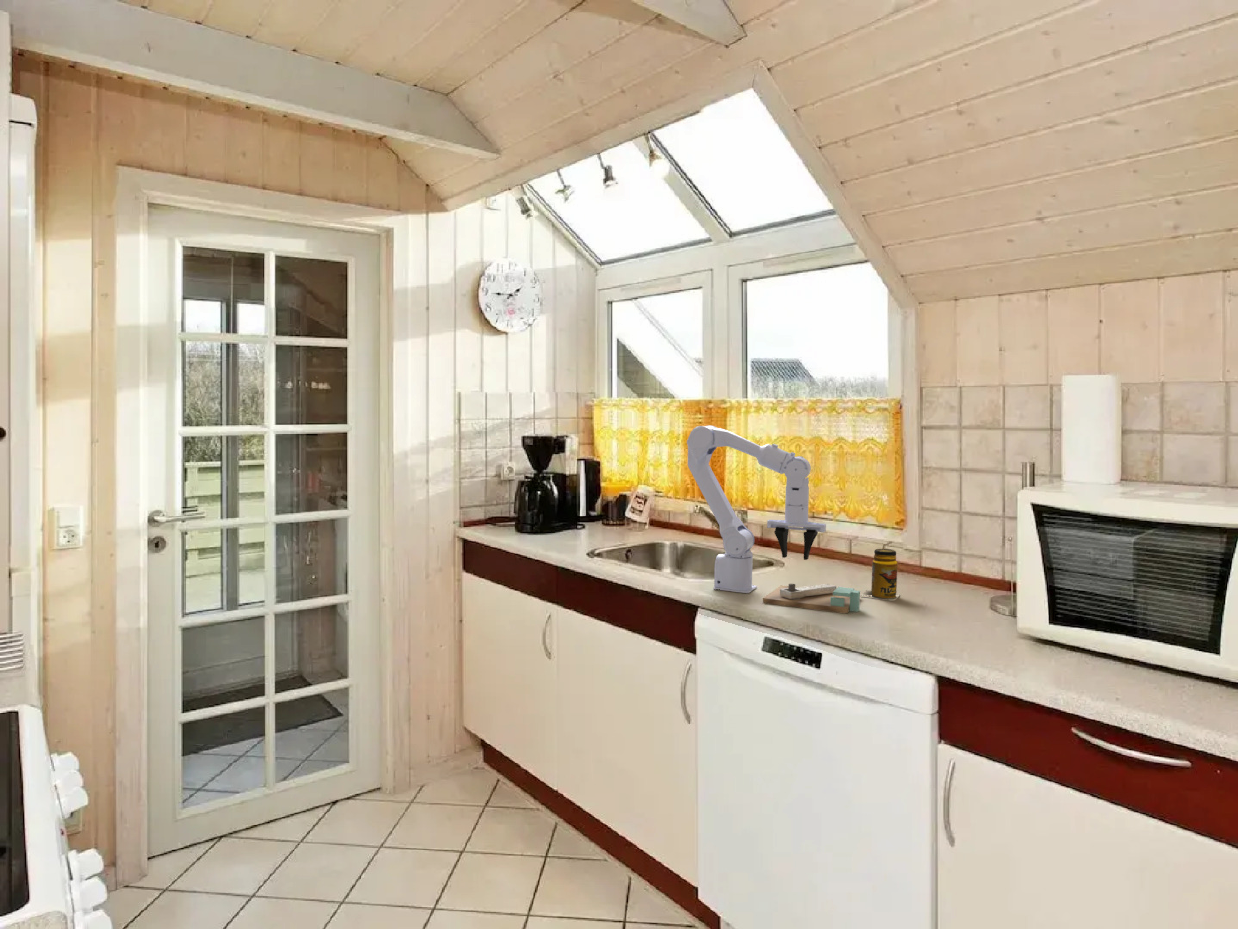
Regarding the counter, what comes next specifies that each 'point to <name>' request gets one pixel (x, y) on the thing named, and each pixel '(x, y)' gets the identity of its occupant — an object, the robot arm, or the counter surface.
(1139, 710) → the counter surface
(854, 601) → the keeper
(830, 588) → the link
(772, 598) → the board
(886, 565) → the condiment
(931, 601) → the counter surface
